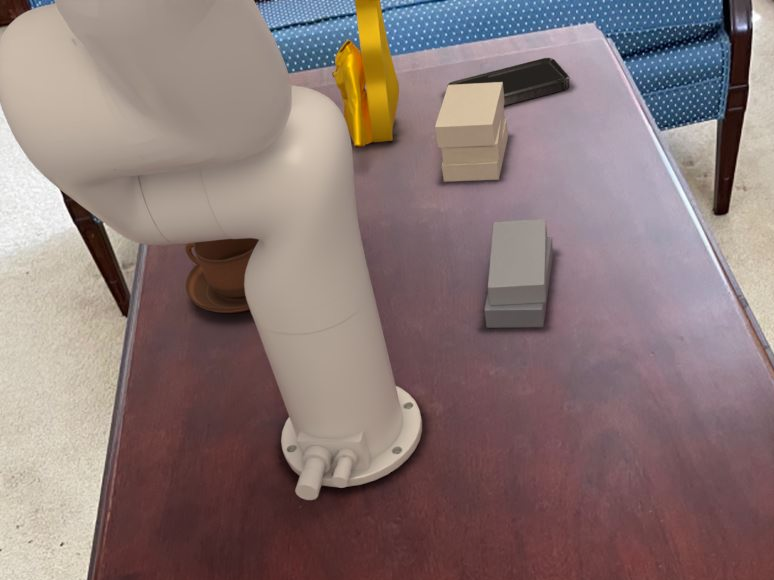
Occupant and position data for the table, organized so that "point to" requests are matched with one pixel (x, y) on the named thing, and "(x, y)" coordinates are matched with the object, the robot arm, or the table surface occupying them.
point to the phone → (524, 80)
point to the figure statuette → (368, 78)
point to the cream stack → (475, 159)
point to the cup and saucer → (219, 274)
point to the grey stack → (518, 274)
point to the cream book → (470, 115)
